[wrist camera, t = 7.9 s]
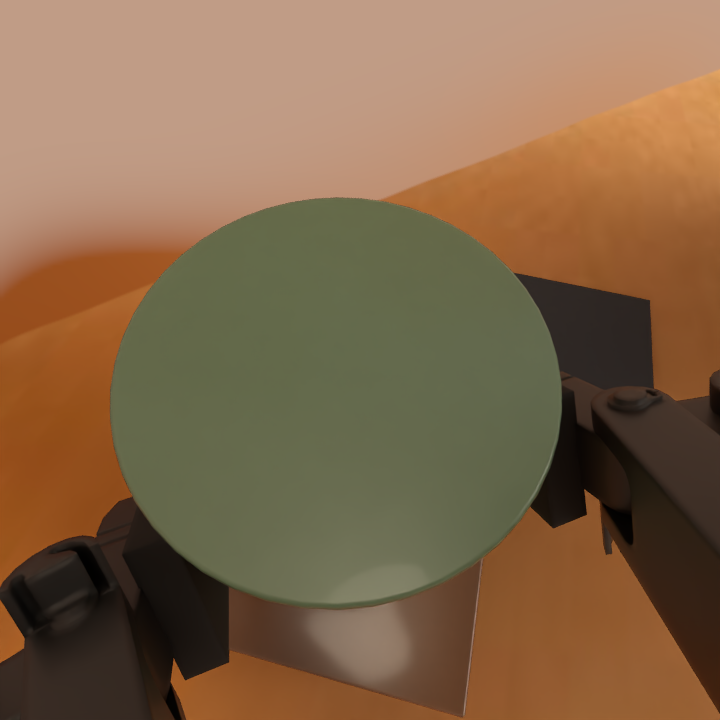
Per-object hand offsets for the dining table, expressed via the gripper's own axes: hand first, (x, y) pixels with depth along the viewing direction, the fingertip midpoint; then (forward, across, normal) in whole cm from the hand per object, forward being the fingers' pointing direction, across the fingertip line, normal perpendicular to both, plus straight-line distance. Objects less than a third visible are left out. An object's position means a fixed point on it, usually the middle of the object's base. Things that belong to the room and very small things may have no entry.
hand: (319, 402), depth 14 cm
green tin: (0, 0, -3) cm, 3 cm away
